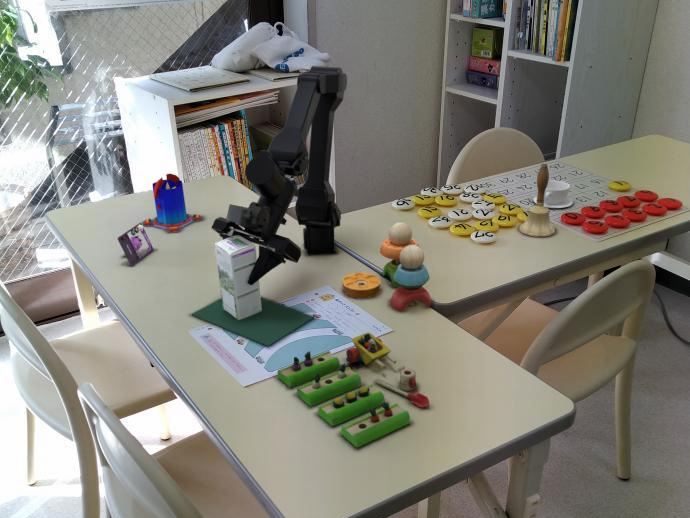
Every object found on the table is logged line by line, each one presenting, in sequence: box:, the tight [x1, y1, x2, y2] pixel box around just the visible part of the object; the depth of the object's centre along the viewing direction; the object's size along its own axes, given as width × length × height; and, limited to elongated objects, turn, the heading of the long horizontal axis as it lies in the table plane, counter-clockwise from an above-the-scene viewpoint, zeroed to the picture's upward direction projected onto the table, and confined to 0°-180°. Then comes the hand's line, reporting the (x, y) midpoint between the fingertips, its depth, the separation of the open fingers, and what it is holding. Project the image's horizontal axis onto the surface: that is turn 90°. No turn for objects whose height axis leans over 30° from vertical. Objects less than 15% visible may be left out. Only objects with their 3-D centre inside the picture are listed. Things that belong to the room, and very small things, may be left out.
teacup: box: [532, 179, 574, 209], centre depth 191 cm, size 10×10×5 cm
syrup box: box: [214, 235, 262, 320], centre depth 141 cm, size 6×6×14 cm
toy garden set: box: [277, 331, 430, 448], centre depth 121 cm, size 23×19×5 cm
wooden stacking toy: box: [341, 222, 432, 313], centre depth 147 cm, size 18×17×12 cm
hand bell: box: [518, 163, 556, 238], centre depth 173 cm, size 8×8×16 cm
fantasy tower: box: [142, 173, 203, 234], centre depth 182 cm, size 12×12×12 cm
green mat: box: [191, 297, 315, 348], centre depth 143 cm, size 20×13×1 cm, turn 53°
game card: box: [117, 222, 155, 267], centre depth 167 cm, size 7×5×9 cm
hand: (236, 279), depth 140 cm, fingers closed on syrup box, 6 cm apart
